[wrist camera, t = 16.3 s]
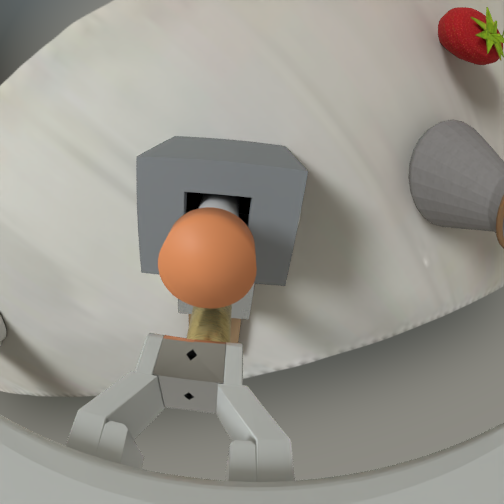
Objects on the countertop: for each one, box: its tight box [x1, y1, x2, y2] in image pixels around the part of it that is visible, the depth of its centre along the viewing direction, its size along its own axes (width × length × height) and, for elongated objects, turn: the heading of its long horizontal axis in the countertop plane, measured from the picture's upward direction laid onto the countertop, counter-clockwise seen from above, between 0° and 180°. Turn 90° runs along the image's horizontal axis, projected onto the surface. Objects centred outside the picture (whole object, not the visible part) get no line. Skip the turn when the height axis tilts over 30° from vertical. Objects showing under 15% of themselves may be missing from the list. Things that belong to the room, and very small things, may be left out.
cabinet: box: [137, 136, 308, 286], centre depth 22 cm, size 11×8×10 cm
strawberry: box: [438, 7, 504, 65], centre depth 14 cm, size 6×8×10 cm
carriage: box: [178, 283, 255, 343], centre depth 23 cm, size 7×7×14 cm
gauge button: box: [158, 193, 257, 309], centre depth 18 cm, size 5×5×11 cm
